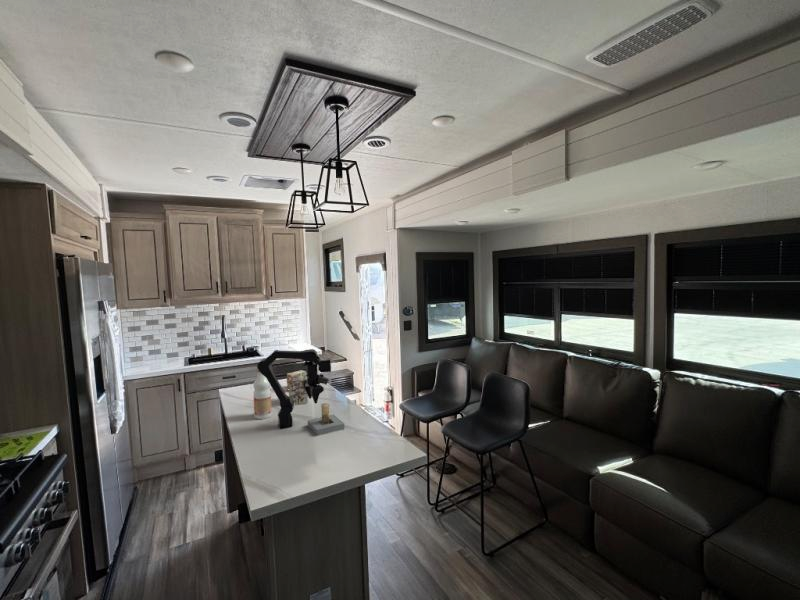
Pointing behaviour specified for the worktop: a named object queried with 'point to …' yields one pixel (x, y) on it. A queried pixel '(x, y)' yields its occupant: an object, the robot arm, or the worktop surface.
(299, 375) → the decorative jar
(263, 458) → the worktop surface
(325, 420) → the oak peg
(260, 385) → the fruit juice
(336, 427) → the charcoal socket board
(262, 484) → the worktop surface
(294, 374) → the stack of blocks
